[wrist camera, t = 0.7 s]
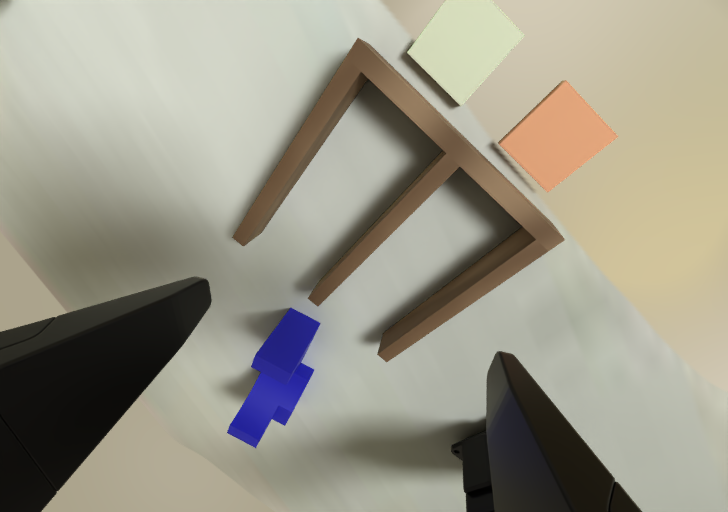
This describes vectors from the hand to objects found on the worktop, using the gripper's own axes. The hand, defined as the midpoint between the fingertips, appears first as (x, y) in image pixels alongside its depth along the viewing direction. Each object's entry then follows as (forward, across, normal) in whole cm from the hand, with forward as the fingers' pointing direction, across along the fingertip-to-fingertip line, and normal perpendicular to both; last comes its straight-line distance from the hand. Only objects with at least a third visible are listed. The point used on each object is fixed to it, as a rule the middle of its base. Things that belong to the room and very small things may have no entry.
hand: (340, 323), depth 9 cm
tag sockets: (+13, +1, +2) cm, 13 cm away
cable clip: (+14, +8, +18) cm, 24 cm away
